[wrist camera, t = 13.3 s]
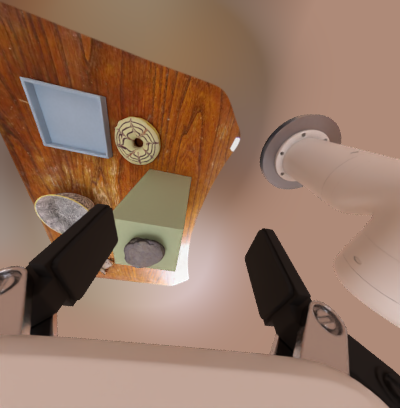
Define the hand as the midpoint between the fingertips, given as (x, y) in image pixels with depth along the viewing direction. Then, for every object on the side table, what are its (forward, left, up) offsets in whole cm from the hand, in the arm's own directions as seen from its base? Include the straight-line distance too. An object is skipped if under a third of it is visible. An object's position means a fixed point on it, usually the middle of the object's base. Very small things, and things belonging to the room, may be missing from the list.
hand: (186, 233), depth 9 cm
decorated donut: (+14, +3, -33) cm, 36 cm away
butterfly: (+31, +60, -33) cm, 75 cm away
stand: (+6, +16, -33) cm, 37 cm away
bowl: (+33, +27, -33) cm, 54 cm away
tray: (+29, +2, -33) cm, 44 cm away
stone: (+6, +16, -11) cm, 20 cm away
